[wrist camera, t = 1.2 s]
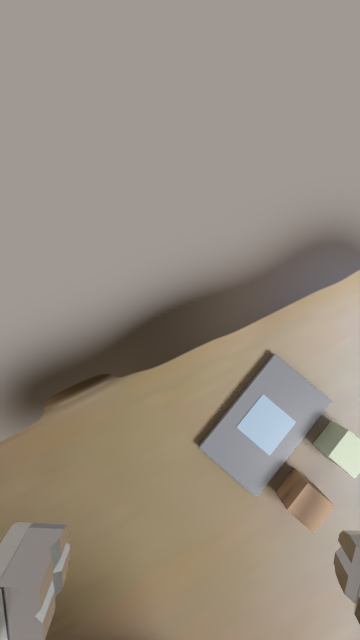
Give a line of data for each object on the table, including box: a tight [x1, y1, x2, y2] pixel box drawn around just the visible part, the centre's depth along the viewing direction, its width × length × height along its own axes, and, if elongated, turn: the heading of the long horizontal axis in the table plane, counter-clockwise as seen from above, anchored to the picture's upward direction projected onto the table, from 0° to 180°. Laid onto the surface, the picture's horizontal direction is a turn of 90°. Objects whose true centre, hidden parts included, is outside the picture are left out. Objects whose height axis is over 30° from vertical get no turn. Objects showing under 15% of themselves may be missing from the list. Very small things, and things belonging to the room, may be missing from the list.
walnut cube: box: [276, 468, 334, 533], centre depth 43 cm, size 5×5×5 cm
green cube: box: [313, 421, 360, 478], centre depth 43 cm, size 5×5×5 cm
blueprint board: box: [199, 354, 332, 498], centre depth 45 cm, size 12×20×1 cm, turn 140°
